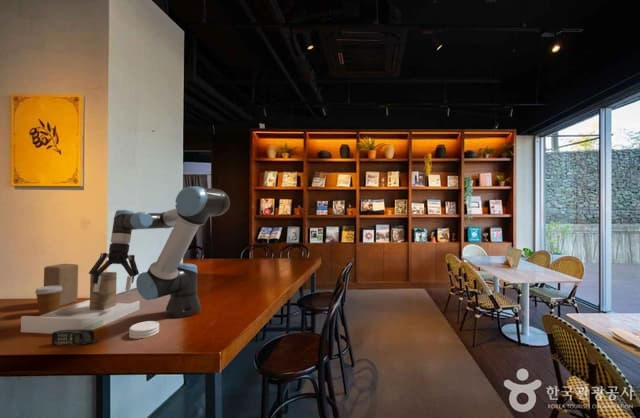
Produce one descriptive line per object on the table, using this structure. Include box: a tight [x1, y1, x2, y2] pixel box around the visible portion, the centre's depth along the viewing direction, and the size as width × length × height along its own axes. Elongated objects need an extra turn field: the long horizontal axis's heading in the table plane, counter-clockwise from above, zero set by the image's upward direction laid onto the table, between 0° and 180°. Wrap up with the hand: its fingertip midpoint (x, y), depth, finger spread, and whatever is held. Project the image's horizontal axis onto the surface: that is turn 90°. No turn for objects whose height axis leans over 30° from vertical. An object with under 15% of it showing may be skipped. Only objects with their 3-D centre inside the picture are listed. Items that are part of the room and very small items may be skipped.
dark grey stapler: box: [51, 329, 100, 346], centre depth 104 cm, size 5×3×15 cm
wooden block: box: [43, 263, 79, 308], centre depth 150 cm, size 10×10×20 cm
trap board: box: [20, 299, 141, 335], centre depth 128 cm, size 31×26×6 cm
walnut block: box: [89, 271, 118, 310], centre depth 136 cm, size 7×7×16 cm
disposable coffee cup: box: [34, 285, 63, 316], centre depth 136 cm, size 10×10×12 cm
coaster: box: [128, 320, 160, 340], centre depth 113 cm, size 10×10×4 cm
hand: (112, 291), depth 129 cm, fingers open, 13 cm apart
